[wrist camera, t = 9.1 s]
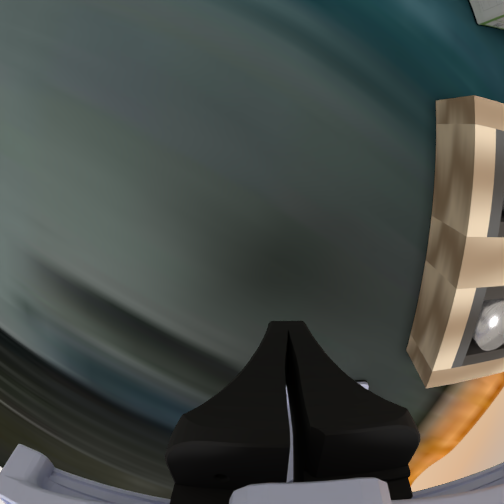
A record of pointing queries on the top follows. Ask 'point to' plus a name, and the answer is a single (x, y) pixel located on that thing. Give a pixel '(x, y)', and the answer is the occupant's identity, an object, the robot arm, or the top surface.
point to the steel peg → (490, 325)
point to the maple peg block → (462, 244)
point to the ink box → (489, 12)
